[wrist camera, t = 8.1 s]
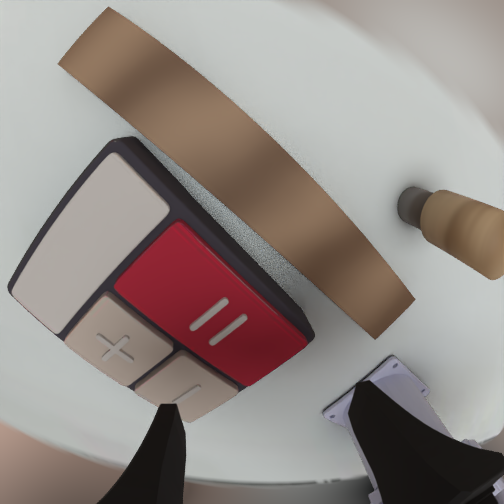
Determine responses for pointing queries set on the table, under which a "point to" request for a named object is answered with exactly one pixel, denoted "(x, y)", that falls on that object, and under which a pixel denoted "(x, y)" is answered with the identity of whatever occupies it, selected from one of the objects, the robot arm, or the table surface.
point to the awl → (458, 227)
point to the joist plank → (236, 165)
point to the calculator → (155, 287)
